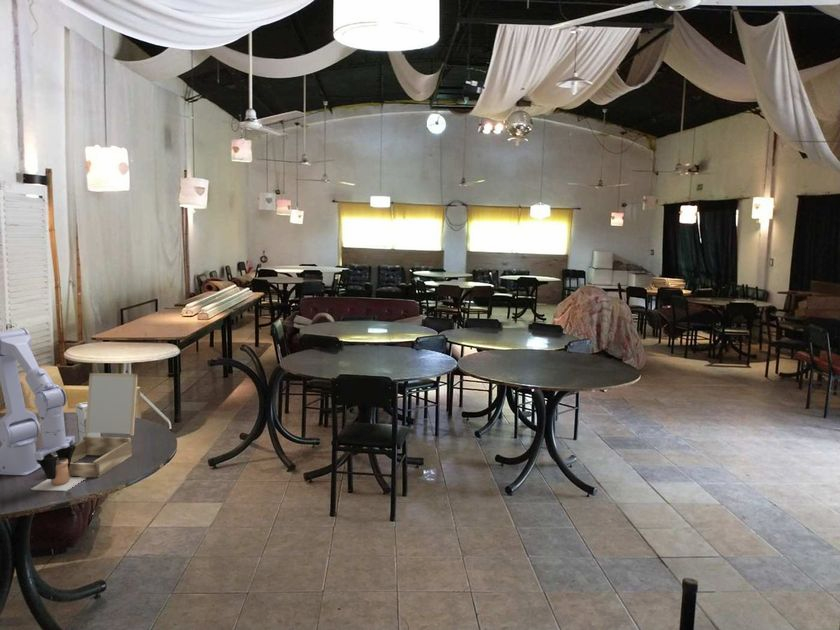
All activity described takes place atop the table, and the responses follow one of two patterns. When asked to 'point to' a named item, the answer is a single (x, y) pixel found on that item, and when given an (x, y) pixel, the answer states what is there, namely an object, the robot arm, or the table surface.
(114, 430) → the lid
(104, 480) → the table surface
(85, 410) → the syrup box
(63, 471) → the terracotta flower pot
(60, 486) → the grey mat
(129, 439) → the cold frame
